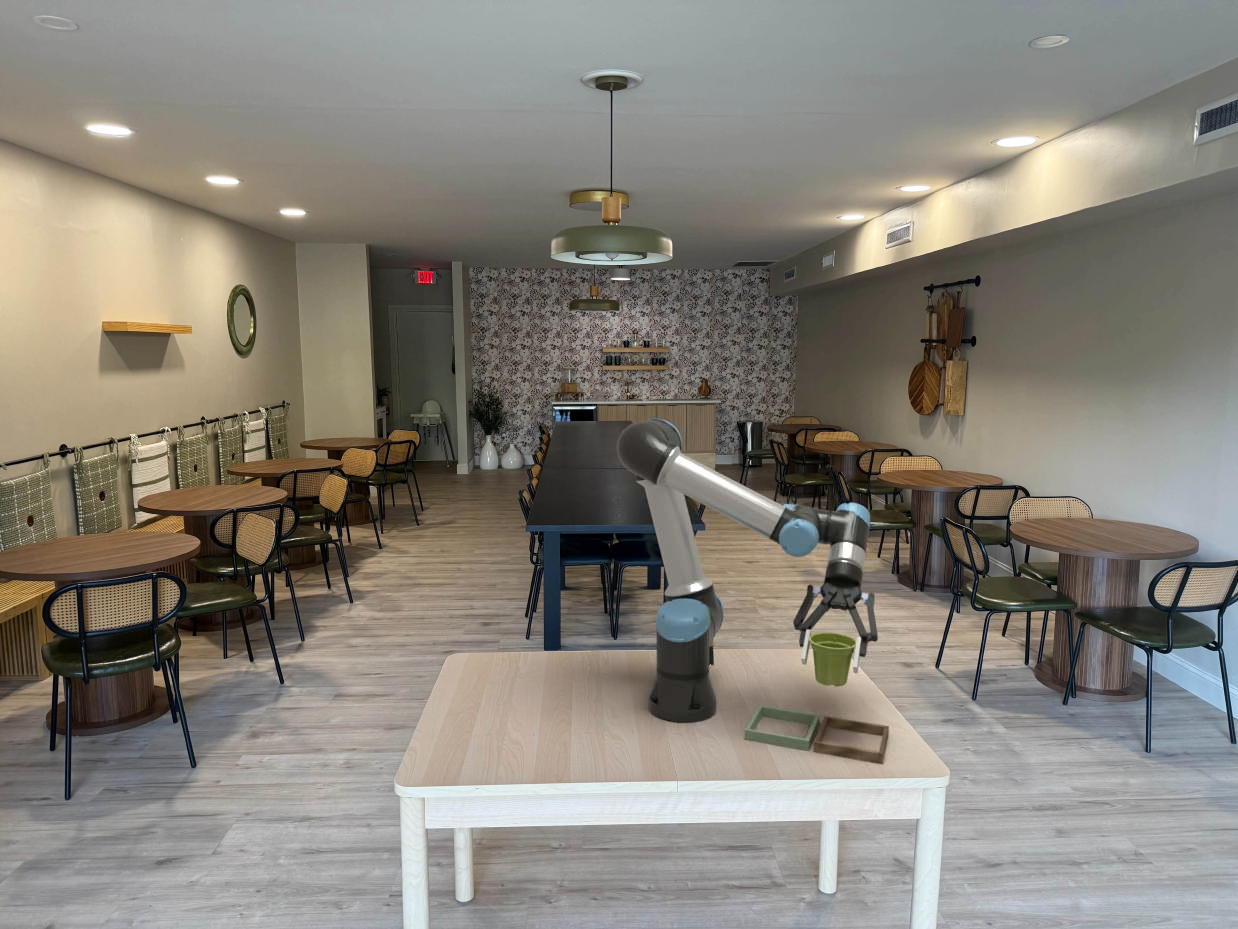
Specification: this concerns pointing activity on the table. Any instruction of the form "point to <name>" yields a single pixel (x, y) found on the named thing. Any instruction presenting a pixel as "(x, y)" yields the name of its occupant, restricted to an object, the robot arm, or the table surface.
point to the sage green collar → (778, 738)
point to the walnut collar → (847, 750)
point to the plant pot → (832, 657)
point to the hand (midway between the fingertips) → (829, 665)
